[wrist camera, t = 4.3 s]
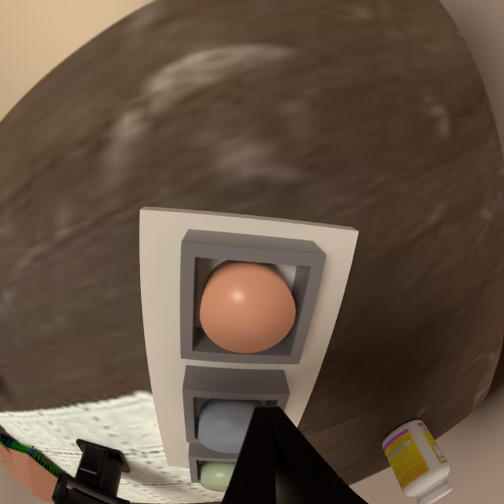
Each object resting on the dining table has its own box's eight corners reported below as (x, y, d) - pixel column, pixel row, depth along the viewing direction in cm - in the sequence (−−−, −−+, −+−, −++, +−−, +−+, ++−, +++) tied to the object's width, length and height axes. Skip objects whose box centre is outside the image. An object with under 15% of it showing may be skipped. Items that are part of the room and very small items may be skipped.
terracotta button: (279, 331, 17) (286, 354, 15) (201, 326, 17) (198, 350, 15) (293, 259, 16) (303, 275, 14) (205, 251, 15) (201, 268, 13)
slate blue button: (260, 431, 20) (263, 453, 17) (199, 428, 19) (198, 451, 17) (269, 394, 18) (274, 419, 16) (199, 391, 17) (197, 417, 15)
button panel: (276, 462, 26) (280, 485, 23) (169, 458, 25) (166, 481, 21) (352, 227, 17) (377, 243, 14) (145, 206, 16) (124, 219, 12)
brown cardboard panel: (22, 431, 25) (7, 464, 17) (129, 509, 36) (125, 535, 28) (-23, 419, 25) (-36, 442, 17) (67, 496, 36) (61, 516, 28)
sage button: (247, 474, 23) (249, 492, 20) (201, 473, 22) (201, 490, 20) (253, 456, 21) (255, 476, 19) (200, 454, 21) (200, 474, 18)
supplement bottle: (374, 450, 28) (403, 518, 16) (389, 426, 26) (427, 501, 14) (411, 437, 29) (443, 497, 17) (428, 411, 27) (469, 476, 15)
